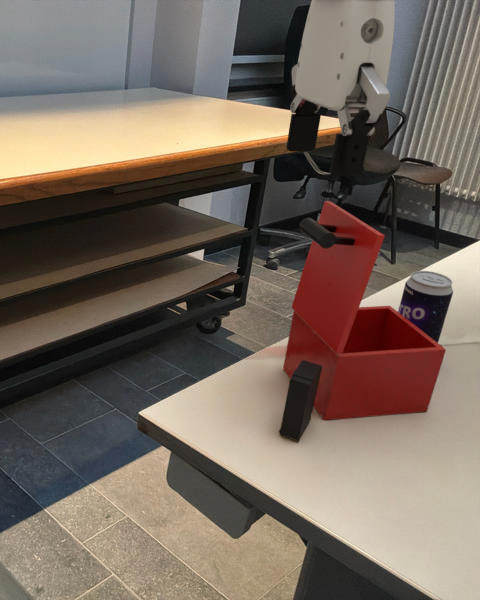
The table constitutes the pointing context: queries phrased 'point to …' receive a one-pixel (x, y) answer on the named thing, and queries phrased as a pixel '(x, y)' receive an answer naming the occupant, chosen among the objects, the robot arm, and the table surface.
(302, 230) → the red box lid
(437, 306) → the beverage can
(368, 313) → the red box
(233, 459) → the table surface
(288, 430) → the ink cartridge
